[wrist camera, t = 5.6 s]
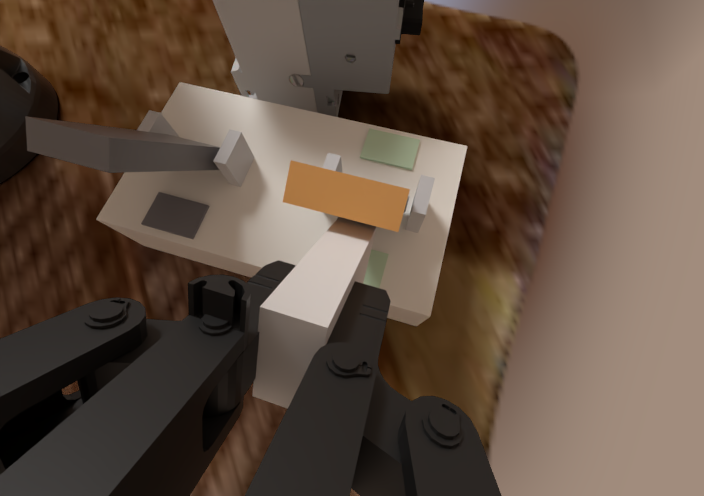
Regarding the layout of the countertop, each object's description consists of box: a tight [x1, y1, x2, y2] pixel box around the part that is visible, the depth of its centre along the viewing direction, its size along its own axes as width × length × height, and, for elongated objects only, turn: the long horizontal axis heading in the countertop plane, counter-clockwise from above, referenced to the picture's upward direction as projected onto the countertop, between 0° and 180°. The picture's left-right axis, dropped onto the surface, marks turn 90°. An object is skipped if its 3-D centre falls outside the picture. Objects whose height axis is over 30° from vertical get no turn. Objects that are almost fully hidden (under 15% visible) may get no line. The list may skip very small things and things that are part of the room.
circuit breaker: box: [213, 0, 424, 117], centre depth 24 cm, size 8×14×15 cm, turn 82°
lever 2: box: [283, 160, 410, 232], centre depth 16 cm, size 4×1×10 cm
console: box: [96, 82, 467, 326], centre depth 23 cm, size 22×12×8 cm, turn 73°
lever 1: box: [25, 116, 220, 173], centre depth 18 cm, size 4×1×9 cm
